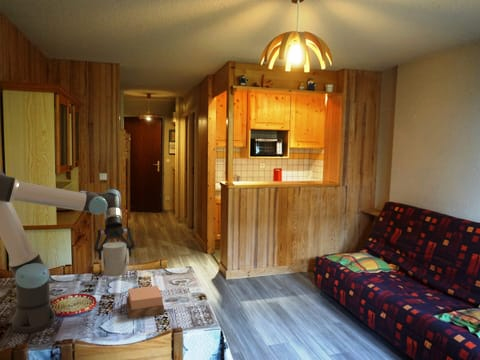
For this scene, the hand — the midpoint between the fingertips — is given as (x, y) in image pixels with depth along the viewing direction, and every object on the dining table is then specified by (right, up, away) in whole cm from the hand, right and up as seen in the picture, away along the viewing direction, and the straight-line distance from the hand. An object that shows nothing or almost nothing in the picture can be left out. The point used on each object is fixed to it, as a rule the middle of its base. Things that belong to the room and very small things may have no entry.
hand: (115, 264), depth 156 cm
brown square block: (+10, -18, +9) cm, 23 cm away
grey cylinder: (-1, -4, +3) cm, 6 cm away
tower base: (+10, -22, +9) cm, 26 cm away
